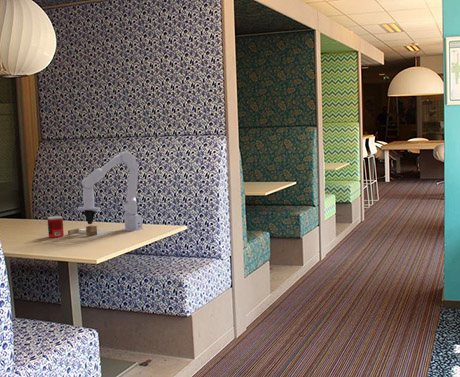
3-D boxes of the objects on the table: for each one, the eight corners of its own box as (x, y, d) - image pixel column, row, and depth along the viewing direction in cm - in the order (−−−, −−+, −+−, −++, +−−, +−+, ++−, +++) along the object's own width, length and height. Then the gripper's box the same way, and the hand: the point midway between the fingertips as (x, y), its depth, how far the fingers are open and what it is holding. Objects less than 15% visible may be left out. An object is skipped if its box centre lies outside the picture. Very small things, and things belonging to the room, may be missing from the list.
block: (97, 234, 336) (96, 225, 335) (92, 236, 332) (91, 227, 332) (91, 234, 338) (90, 225, 337) (86, 235, 334) (85, 226, 334)
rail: (79, 232, 344) (78, 228, 344) (70, 235, 338) (70, 230, 338) (77, 232, 345) (76, 228, 345) (68, 234, 339) (67, 230, 339)
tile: (96, 228, 345) (87, 227, 349) (88, 230, 339) (78, 229, 342) (97, 231, 345) (87, 231, 349) (88, 234, 339) (78, 233, 343)
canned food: (66, 236, 338) (65, 216, 337) (58, 239, 330) (56, 218, 329) (54, 235, 340) (53, 215, 339) (45, 238, 333) (44, 218, 332)
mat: (115, 232, 345) (115, 231, 345) (95, 237, 330) (95, 236, 330) (88, 230, 354) (87, 229, 354) (67, 235, 340) (66, 234, 340)
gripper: (73, 199, 341) (75, 224, 343) (94, 200, 334) (95, 225, 336) (82, 198, 347) (83, 222, 349) (102, 199, 340) (104, 223, 342)
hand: (90, 223), depth 343 cm, fingers closed
